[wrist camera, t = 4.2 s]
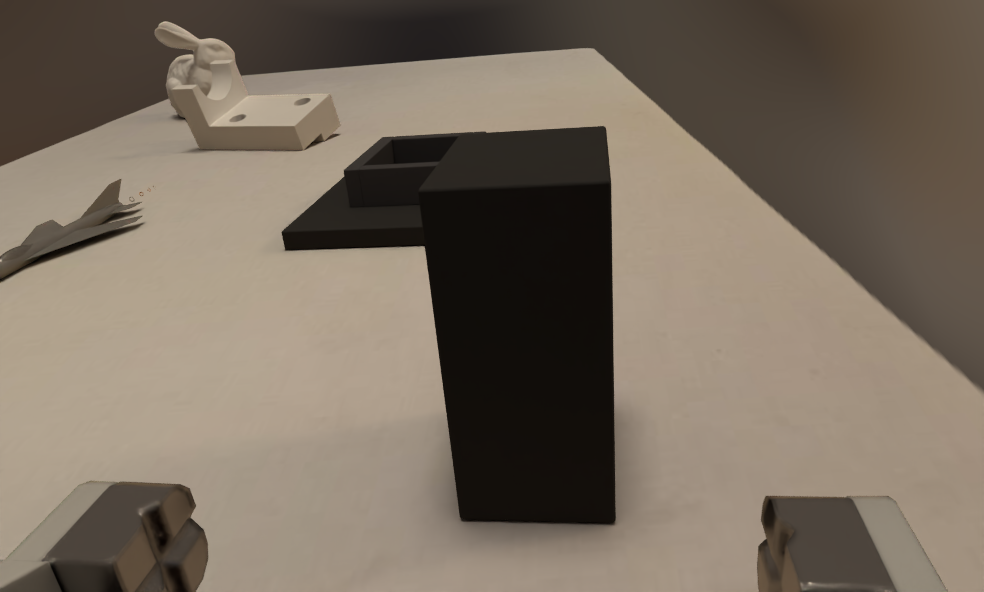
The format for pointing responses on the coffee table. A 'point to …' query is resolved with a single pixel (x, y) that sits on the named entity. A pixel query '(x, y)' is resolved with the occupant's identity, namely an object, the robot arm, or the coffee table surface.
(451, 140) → the base pad
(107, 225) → the toy airplane
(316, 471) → the coffee table surface
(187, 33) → the rabbit
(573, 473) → the pad block
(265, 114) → the bracket
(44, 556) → the robot arm
